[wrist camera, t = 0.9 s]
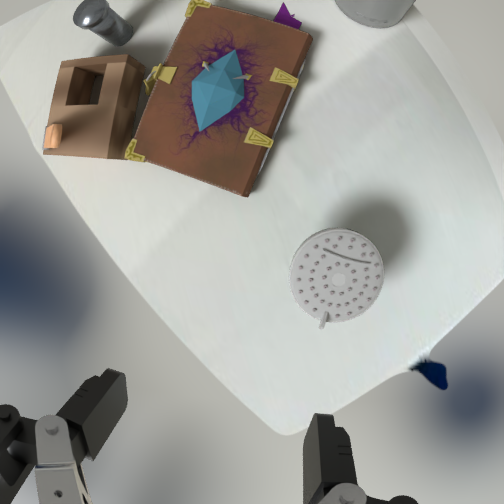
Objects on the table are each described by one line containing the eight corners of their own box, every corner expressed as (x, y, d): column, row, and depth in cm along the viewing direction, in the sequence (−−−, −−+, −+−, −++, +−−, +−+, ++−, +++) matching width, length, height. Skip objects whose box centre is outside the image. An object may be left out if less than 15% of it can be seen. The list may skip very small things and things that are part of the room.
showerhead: (274, 318, 30) (307, 217, 28) (276, 292, 37) (302, 209, 35) (363, 341, 30) (401, 248, 27) (350, 312, 37) (379, 234, 34)
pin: (112, 23, 31) (79, -1, 23) (139, 20, 31) (108, -8, 22) (104, 49, 32) (68, 28, 24) (131, 47, 32) (97, 23, 23)
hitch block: (82, 70, 33) (61, 61, 28) (145, 66, 32) (128, 54, 27) (66, 155, 36) (43, 154, 31) (127, 160, 35) (106, 158, 30)
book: (324, 20, 30) (331, 2, 25) (250, 200, 36) (247, 204, 31) (201, -14, 29) (194, -33, 24) (125, 155, 35) (107, 153, 31)
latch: (52, 127, 30) (45, 126, 29) (64, 121, 24) (55, 120, 24) (49, 149, 31) (41, 149, 30) (60, 150, 25) (50, 149, 24)
